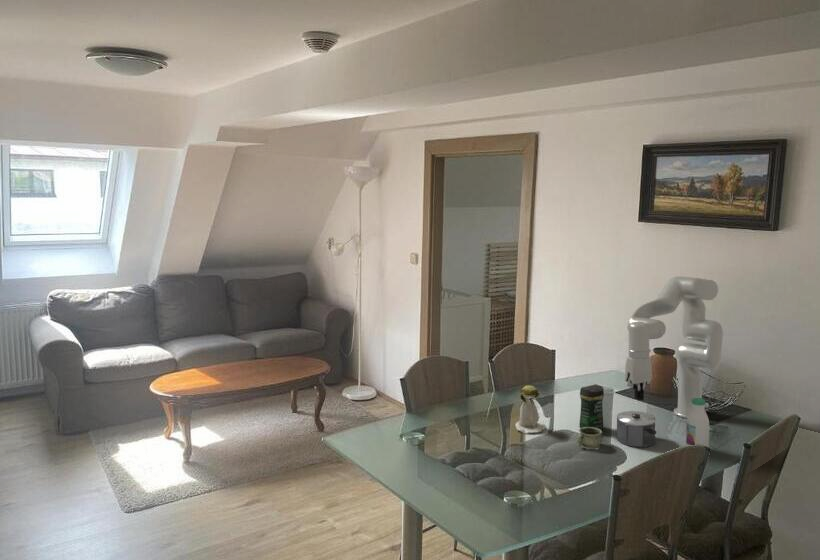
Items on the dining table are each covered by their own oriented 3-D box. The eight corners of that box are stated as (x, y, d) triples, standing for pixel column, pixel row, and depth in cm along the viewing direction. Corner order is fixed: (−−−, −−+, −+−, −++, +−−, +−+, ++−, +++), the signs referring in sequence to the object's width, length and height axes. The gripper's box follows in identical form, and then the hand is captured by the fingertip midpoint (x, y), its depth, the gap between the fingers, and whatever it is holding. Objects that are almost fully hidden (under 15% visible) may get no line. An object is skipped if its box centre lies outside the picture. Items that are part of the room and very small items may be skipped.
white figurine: (511, 432, 260) (511, 389, 257) (520, 421, 271) (519, 381, 269) (540, 435, 255) (539, 392, 252) (547, 425, 266) (547, 383, 264)
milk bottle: (707, 447, 237) (708, 396, 235) (709, 455, 230) (711, 403, 227) (685, 445, 240) (686, 395, 237) (687, 453, 232) (688, 401, 230)
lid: (638, 411, 255) (638, 406, 254) (665, 422, 242) (665, 417, 241) (609, 417, 249) (609, 412, 249) (634, 428, 236) (634, 423, 236)
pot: (634, 428, 258) (634, 409, 257) (670, 445, 240) (670, 424, 239) (604, 435, 253) (605, 415, 252) (640, 452, 235) (640, 431, 234)
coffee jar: (590, 434, 254) (590, 390, 252) (576, 428, 261) (576, 385, 259) (607, 429, 259) (607, 385, 257) (592, 423, 266) (592, 381, 264)
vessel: (585, 453, 236) (585, 437, 236) (570, 444, 245) (570, 429, 244) (610, 447, 241) (610, 431, 240) (595, 439, 249) (595, 424, 248)
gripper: (646, 349, 249) (646, 393, 251) (617, 354, 243) (617, 399, 246) (661, 353, 242) (660, 398, 244) (630, 359, 236) (631, 405, 239)
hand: (639, 399), depth 245 cm, fingers closed
